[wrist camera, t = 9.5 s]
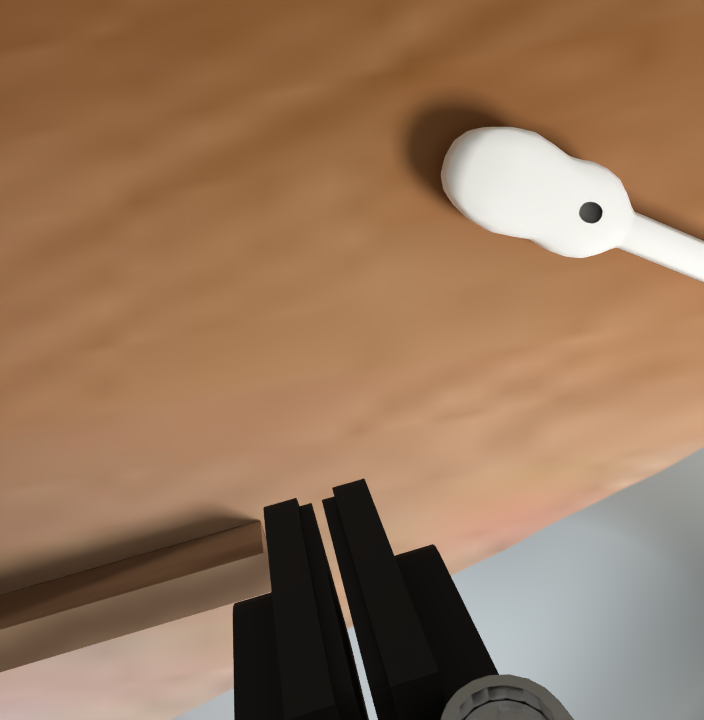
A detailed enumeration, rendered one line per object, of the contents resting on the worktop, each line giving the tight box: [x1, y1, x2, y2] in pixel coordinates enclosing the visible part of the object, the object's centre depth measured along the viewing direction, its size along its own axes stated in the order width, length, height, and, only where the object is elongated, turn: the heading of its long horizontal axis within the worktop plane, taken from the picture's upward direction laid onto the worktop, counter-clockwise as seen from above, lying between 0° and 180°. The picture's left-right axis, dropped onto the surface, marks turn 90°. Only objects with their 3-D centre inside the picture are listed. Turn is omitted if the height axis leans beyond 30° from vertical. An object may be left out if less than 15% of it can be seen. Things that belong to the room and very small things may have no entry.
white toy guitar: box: [441, 127, 704, 282], centre depth 40 cm, size 28×6×3 cm, turn 69°
